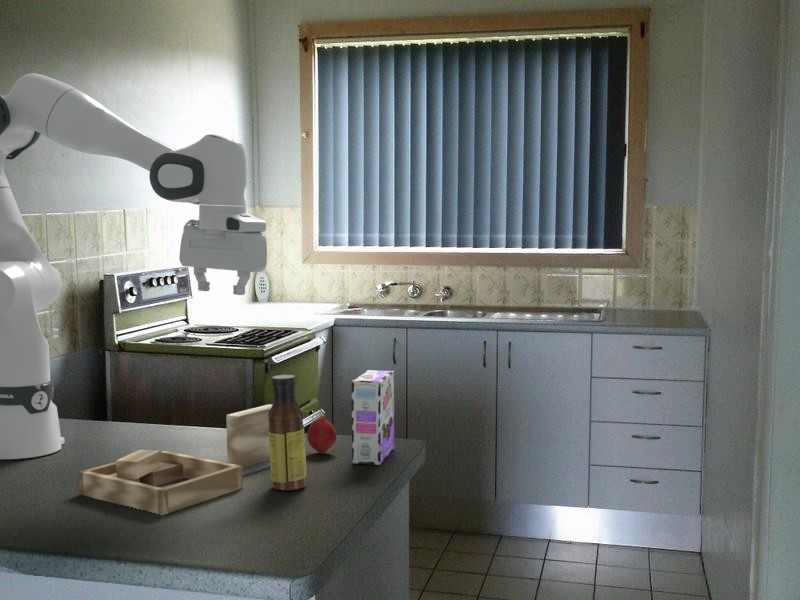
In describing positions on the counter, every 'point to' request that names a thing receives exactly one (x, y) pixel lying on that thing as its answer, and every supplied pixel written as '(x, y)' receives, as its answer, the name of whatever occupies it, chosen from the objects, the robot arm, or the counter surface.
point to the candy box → (372, 417)
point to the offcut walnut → (163, 474)
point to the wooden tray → (202, 486)
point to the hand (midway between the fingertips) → (221, 292)
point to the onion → (321, 435)
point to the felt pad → (256, 467)
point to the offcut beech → (138, 464)
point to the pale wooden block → (248, 436)
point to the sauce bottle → (286, 437)
